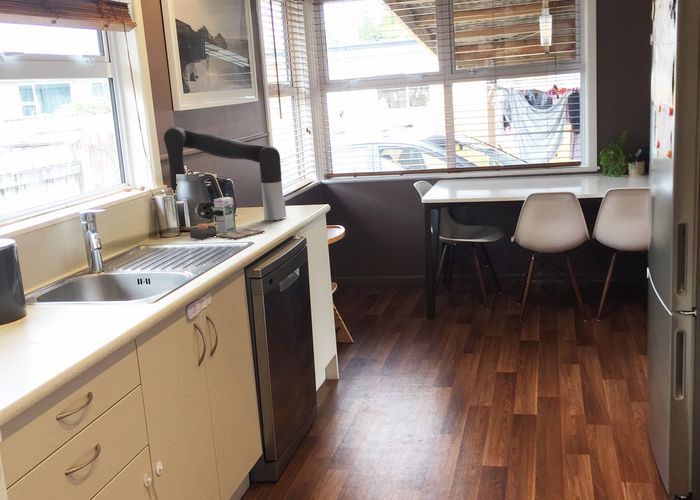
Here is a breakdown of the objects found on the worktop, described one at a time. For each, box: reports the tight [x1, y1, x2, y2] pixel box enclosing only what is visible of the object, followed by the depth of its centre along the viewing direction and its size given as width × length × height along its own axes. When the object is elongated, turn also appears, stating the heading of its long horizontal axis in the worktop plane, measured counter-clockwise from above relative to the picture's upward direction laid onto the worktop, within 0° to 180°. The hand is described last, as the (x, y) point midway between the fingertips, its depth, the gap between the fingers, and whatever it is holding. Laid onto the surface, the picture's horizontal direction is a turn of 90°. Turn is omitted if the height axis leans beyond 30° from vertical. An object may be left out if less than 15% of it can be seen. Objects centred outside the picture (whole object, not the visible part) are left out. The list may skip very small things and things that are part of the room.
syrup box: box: [213, 196, 237, 234], centre depth 326 cm, size 6×6×14 cm
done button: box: [196, 222, 209, 229], centre depth 316 cm, size 4×4×3 cm
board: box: [215, 228, 266, 241], centre depth 317 cm, size 16×12×1 cm
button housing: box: [189, 225, 218, 241], centre depth 317 cm, size 8×8×4 cm
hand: (228, 212), depth 324 cm, fingers open, 6 cm apart
